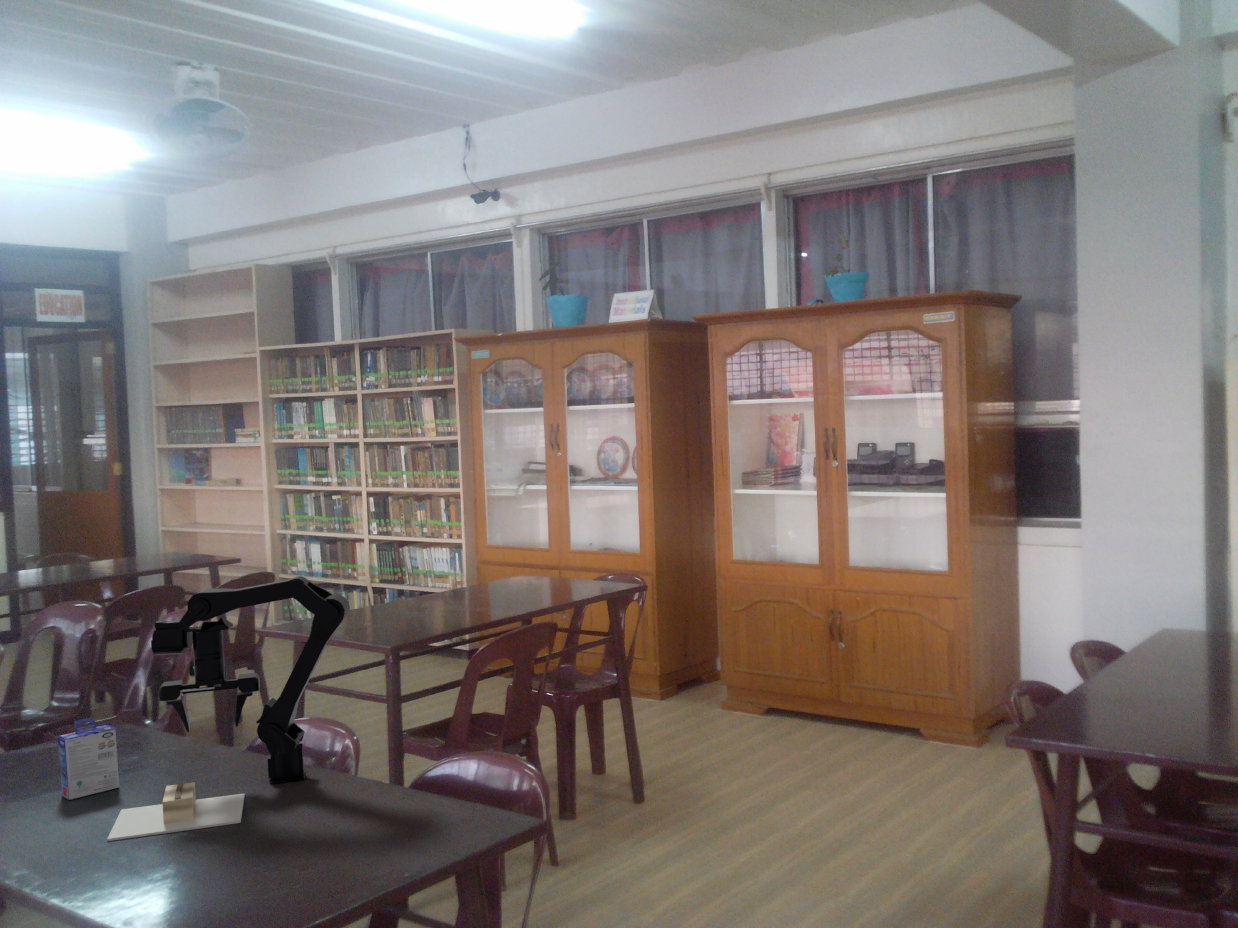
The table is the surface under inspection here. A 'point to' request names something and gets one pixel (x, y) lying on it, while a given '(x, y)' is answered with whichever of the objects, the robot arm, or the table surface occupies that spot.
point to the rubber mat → (152, 823)
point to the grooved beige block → (179, 803)
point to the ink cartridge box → (88, 760)
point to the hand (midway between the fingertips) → (212, 728)
